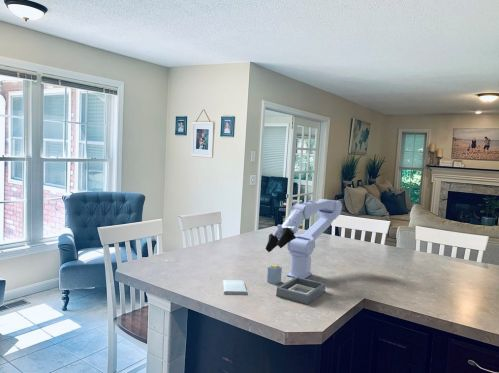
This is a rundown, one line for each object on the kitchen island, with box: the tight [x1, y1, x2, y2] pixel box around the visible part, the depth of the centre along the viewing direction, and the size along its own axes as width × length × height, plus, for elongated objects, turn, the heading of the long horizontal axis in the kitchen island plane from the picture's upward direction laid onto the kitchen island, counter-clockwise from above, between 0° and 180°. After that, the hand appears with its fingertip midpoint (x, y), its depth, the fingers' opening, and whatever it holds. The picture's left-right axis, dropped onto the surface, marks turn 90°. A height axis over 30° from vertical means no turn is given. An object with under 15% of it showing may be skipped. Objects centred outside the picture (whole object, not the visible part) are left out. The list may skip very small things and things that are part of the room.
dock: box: [275, 277, 327, 305], centre depth 140 cm, size 16×12×3 cm
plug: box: [266, 263, 283, 285], centre depth 152 cm, size 4×4×7 cm
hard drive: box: [222, 279, 248, 295], centre depth 142 cm, size 2×8×12 cm
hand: (273, 248), depth 145 cm, fingers open, 7 cm apart
